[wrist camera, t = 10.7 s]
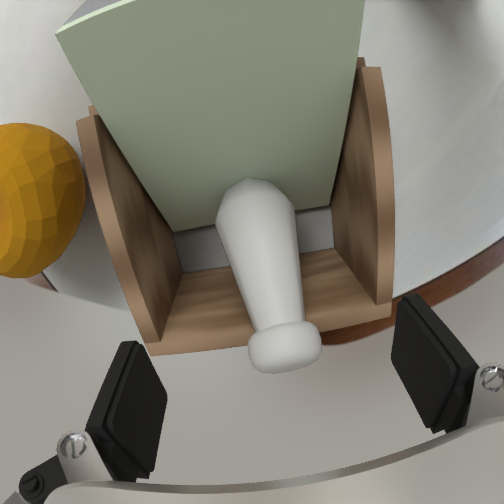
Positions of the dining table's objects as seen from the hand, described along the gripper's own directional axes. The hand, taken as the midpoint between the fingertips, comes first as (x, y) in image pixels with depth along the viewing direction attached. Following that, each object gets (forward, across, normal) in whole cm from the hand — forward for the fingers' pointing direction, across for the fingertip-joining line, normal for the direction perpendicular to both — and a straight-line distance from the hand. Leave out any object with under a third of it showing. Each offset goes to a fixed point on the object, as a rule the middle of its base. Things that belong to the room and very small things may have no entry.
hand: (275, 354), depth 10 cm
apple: (+19, +19, -7) cm, 27 cm away
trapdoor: (+16, 0, -11) cm, 19 cm away
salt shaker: (+15, 0, -2) cm, 15 cm away
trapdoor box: (+18, 0, -3) cm, 19 cm away
